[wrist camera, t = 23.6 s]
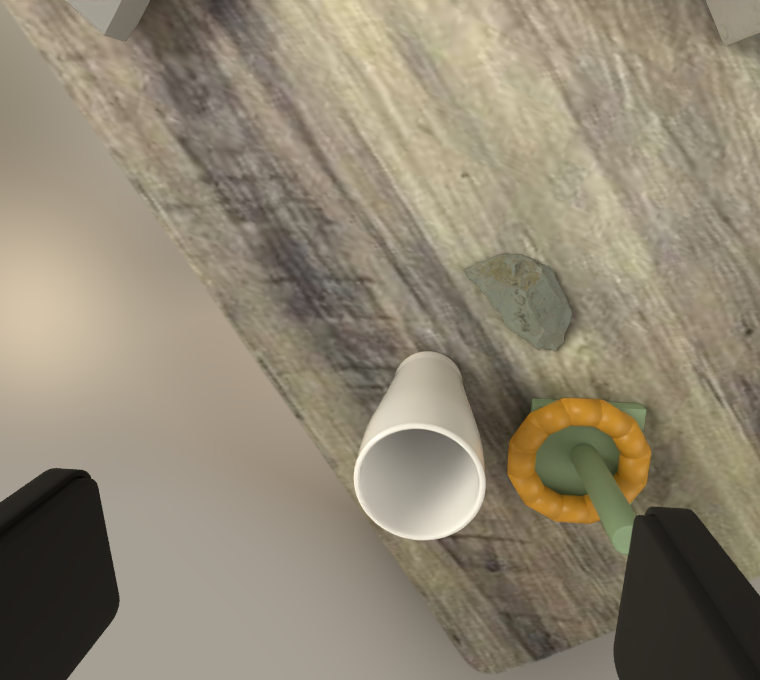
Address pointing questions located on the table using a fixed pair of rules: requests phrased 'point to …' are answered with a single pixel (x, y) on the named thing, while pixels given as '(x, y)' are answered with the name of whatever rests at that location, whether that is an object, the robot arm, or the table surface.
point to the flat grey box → (112, 15)
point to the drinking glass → (422, 453)
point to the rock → (525, 298)
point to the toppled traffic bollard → (735, 18)
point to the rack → (589, 470)
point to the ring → (562, 416)
